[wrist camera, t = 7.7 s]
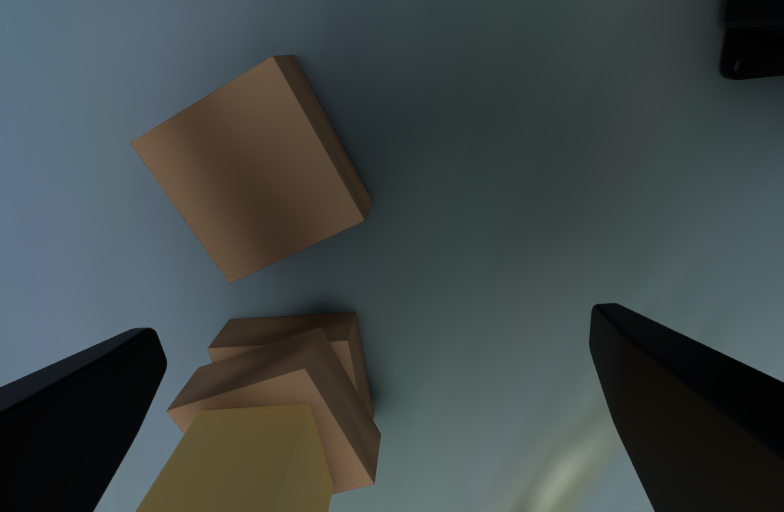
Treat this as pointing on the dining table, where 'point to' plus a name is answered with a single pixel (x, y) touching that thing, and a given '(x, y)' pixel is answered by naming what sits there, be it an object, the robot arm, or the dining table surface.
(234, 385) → the walnut slab upper
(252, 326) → the walnut slab lower
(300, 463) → the mustard cube
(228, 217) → the walnut slab
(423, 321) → the dining table surface
